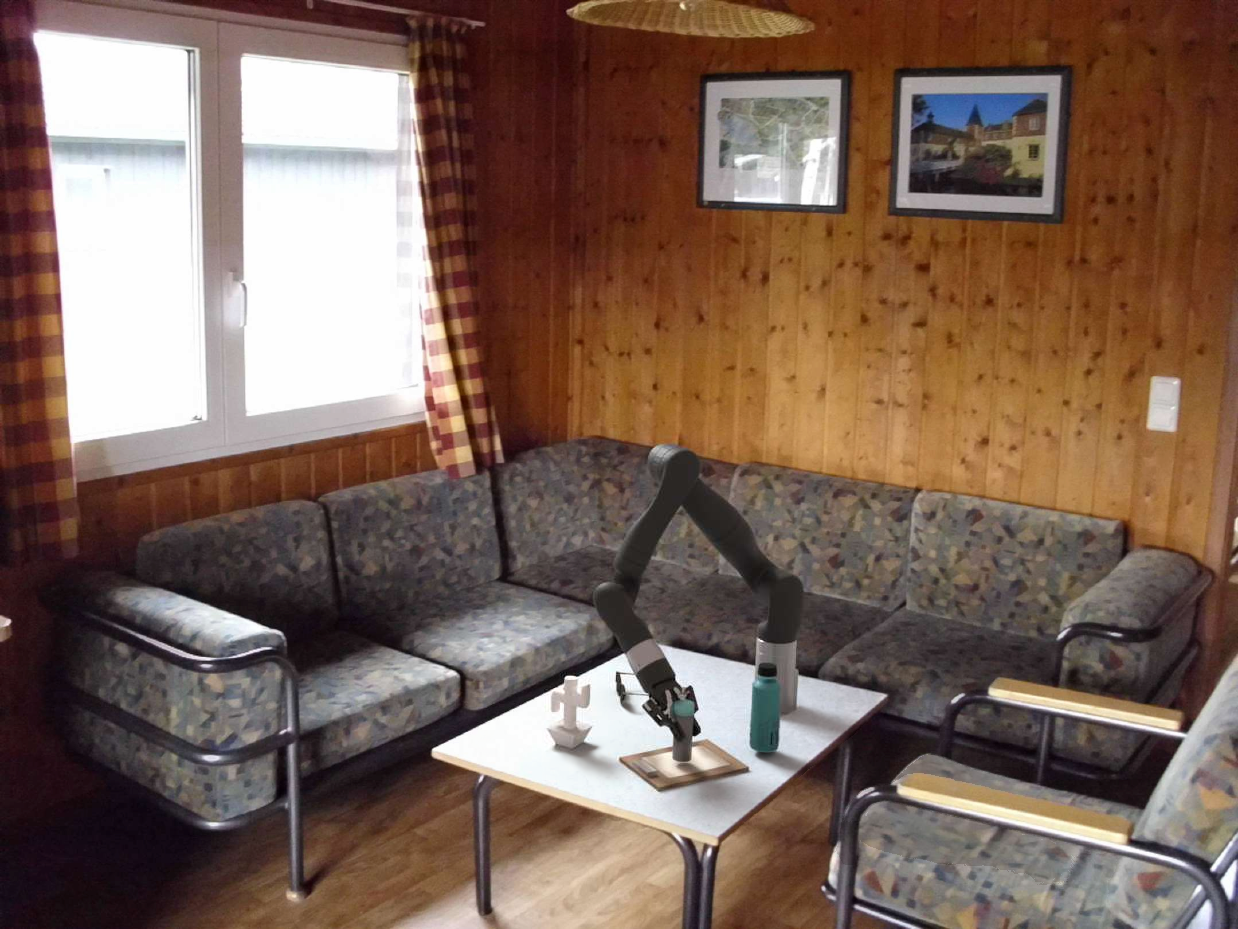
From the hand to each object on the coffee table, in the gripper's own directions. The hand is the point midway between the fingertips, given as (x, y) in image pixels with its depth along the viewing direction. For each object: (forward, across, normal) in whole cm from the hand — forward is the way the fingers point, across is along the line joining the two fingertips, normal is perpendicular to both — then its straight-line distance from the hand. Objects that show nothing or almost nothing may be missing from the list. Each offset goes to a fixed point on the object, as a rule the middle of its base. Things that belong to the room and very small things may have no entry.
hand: (690, 737), depth 277 cm
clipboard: (+4, +1, +7) cm, 8 cm away
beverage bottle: (+9, +19, +2) cm, 21 cm away
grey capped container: (+2, 0, +5) cm, 6 cm away
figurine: (-14, -9, +25) cm, 29 cm away
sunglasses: (-18, +24, +30) cm, 42 cm away
